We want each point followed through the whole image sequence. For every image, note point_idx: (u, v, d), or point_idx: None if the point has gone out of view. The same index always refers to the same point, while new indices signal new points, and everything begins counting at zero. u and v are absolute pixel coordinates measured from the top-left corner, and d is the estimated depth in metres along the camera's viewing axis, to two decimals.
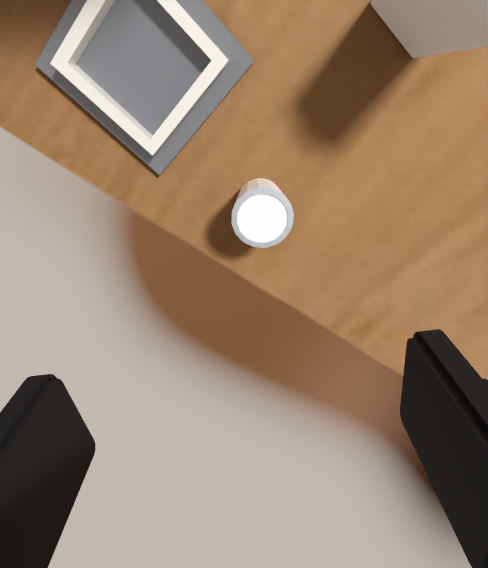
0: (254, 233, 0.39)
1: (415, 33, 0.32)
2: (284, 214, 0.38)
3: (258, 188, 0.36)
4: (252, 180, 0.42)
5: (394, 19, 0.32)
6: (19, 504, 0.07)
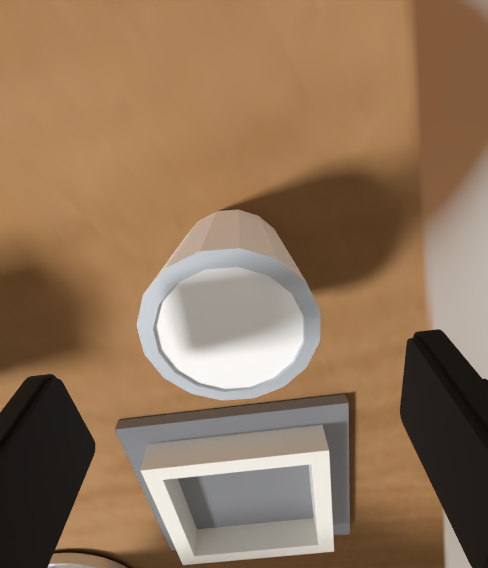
0: (275, 314, 0.13)
1: None
2: (167, 311, 0.12)
3: (192, 391, 0.14)
4: None
5: None
6: (19, 504, 0.07)
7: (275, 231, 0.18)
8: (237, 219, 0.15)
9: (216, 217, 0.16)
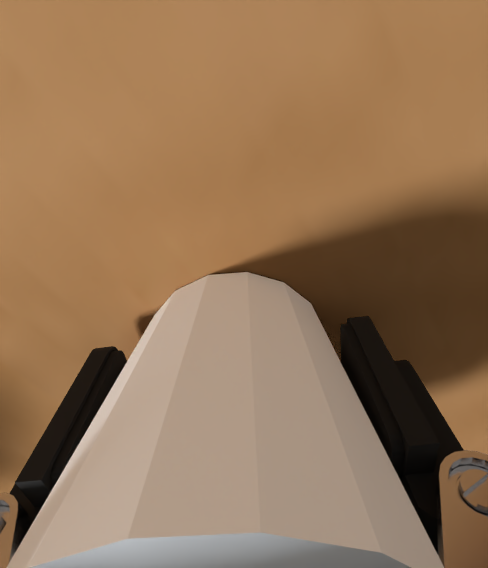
0: None
1: None
2: None
3: None
4: None
5: None
6: None
7: (314, 312, 0.10)
8: (246, 314, 0.08)
9: (205, 300, 0.08)
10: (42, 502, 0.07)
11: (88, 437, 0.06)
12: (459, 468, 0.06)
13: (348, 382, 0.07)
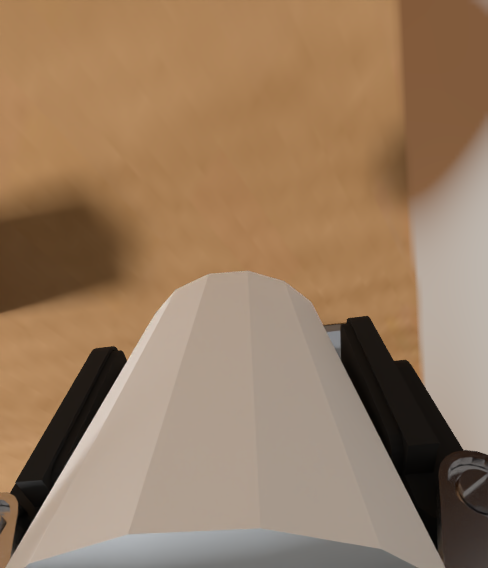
0: None
1: None
2: None
3: None
4: None
5: None
6: None
7: (315, 311, 0.10)
8: (247, 312, 0.08)
9: (205, 298, 0.08)
10: (42, 502, 0.07)
11: (89, 435, 0.06)
12: (459, 468, 0.06)
13: (348, 380, 0.07)
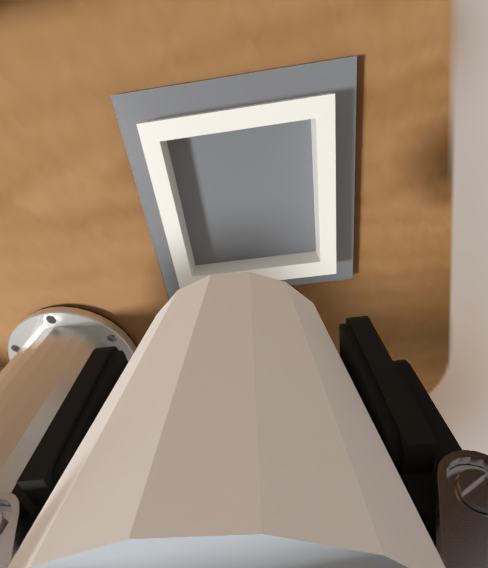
0: None
1: None
2: None
3: None
4: None
5: None
6: None
7: (317, 312, 0.10)
8: (249, 314, 0.07)
9: (207, 299, 0.08)
10: (44, 501, 0.07)
11: (90, 436, 0.06)
12: (457, 467, 0.06)
13: (351, 383, 0.07)
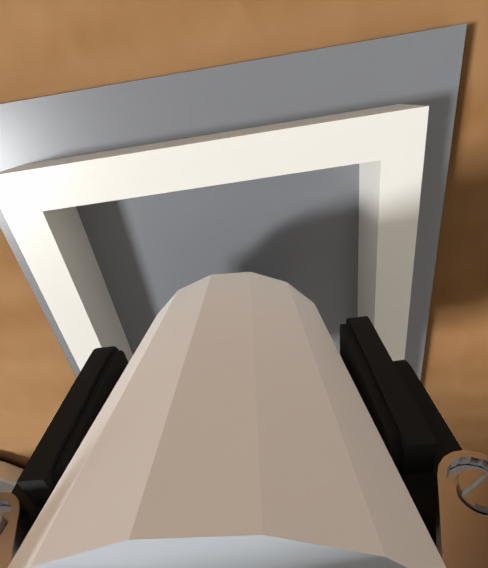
0: None
1: None
2: None
3: None
4: None
5: None
6: None
7: (318, 312, 0.10)
8: (249, 314, 0.07)
9: (208, 299, 0.08)
10: (43, 501, 0.07)
11: (90, 436, 0.06)
12: (457, 468, 0.06)
13: (351, 383, 0.07)
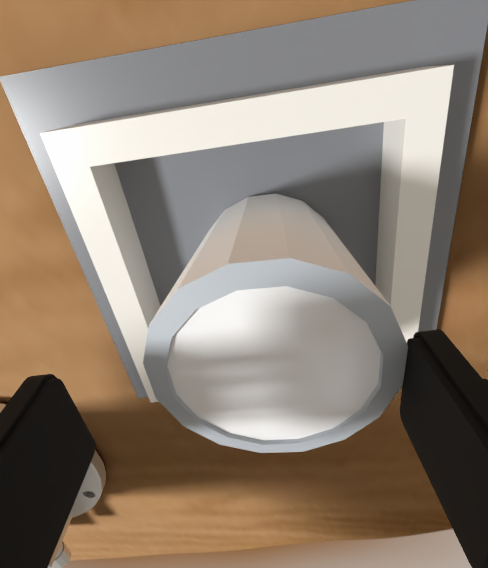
0: (340, 350, 0.09)
1: None
2: (184, 345, 0.09)
3: None
4: None
5: None
6: (19, 504, 0.07)
7: (325, 221, 0.13)
8: (277, 208, 0.11)
9: (248, 205, 0.12)
10: None
11: (185, 270, 0.10)
12: None
13: (345, 247, 0.11)
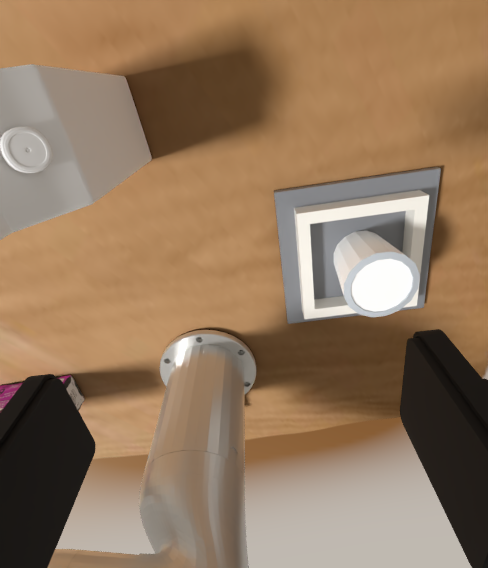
0: (401, 277, 0.31)
1: (121, 111, 0.28)
2: (358, 277, 0.31)
3: (359, 313, 0.33)
4: None
5: (136, 135, 0.30)
6: (19, 504, 0.07)
7: None
8: (372, 236, 0.34)
9: (360, 235, 0.35)
10: None
11: (349, 257, 0.33)
12: None
13: None
